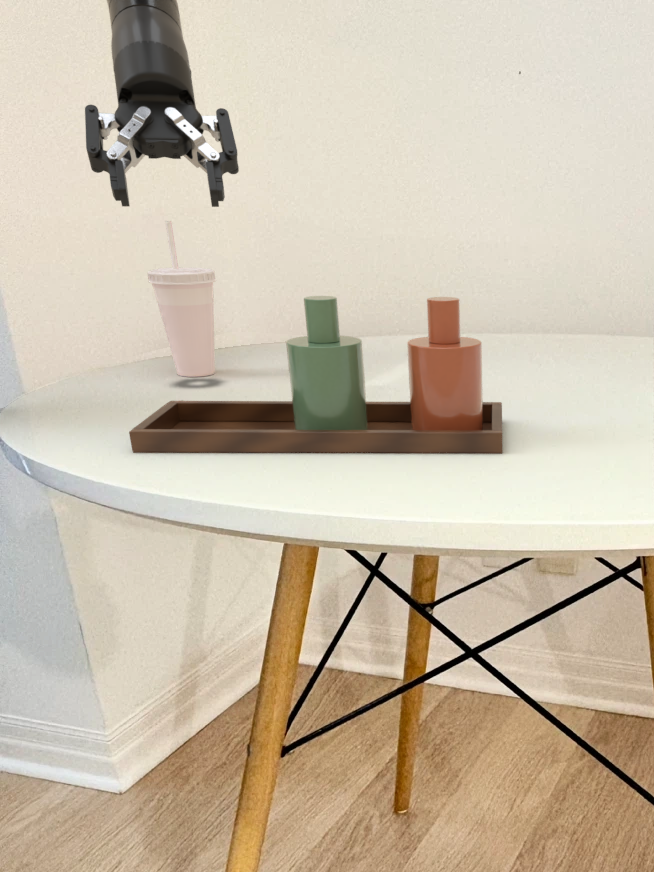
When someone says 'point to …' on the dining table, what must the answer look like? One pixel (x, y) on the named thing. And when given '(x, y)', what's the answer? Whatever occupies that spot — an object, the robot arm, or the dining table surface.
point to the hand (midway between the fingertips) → (170, 200)
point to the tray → (303, 431)
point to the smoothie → (186, 313)
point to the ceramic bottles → (345, 383)
